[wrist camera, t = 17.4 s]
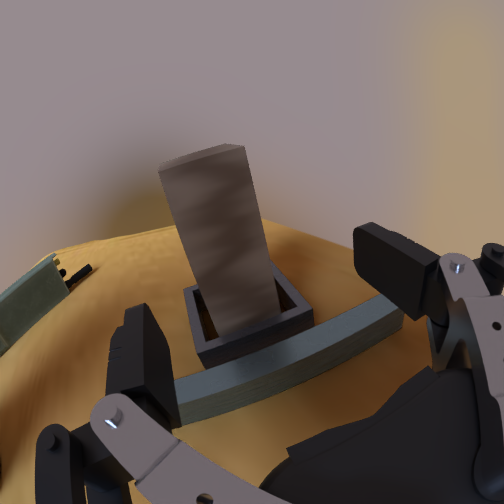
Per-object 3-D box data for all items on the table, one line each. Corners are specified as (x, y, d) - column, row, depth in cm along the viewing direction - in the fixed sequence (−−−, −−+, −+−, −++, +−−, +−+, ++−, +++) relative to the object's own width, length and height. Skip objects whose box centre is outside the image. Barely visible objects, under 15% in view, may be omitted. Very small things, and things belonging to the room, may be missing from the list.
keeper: (119, 438, 14) (99, 422, 13) (122, 332, 25) (111, 314, 23) (401, 327, 18) (405, 303, 17) (322, 260, 29) (320, 239, 27)
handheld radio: (-12, 361, 22) (89, 271, 41) (-10, 371, 21) (98, 274, 39) (-38, 327, 19) (73, 237, 37) (-37, 335, 18) (81, 238, 36)
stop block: (225, 351, 20) (158, 171, 14) (212, 314, 25) (159, 163, 18) (284, 328, 21) (244, 146, 15) (263, 295, 26) (225, 143, 19)
